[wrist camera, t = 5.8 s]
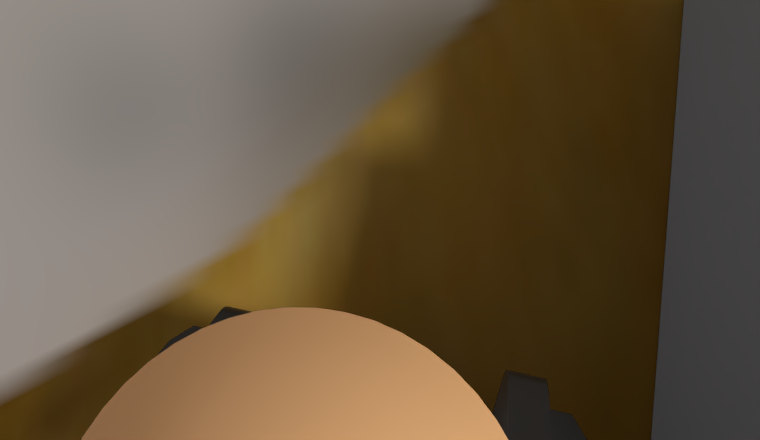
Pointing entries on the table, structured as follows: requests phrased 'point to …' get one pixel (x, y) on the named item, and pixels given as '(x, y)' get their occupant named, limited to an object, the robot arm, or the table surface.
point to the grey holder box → (713, 233)
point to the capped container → (296, 385)
